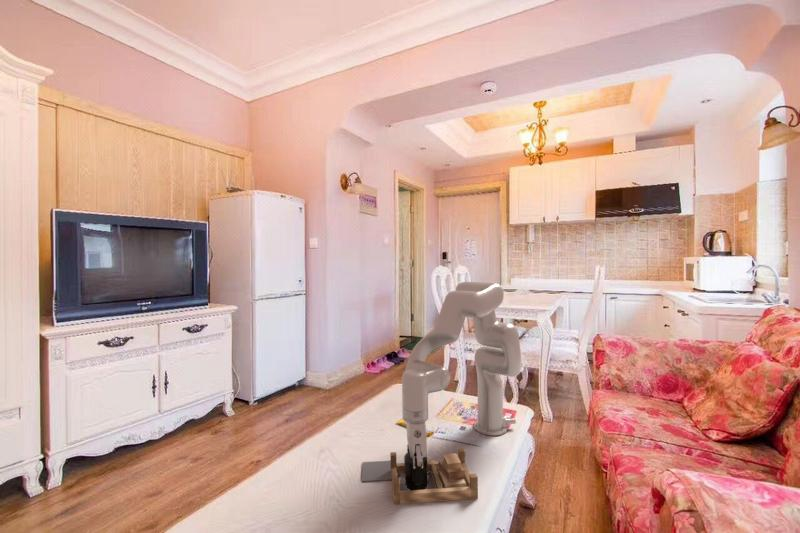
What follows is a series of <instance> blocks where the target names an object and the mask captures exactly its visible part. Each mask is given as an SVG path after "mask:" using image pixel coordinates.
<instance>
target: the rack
mask: <svg viewBox="0 0 800 533" xmlns="http://www.w3.org/2000/svg"><path fill="white" fill-rule="evenodd" d="M389 456H390V458H389V459H390V460H389V461H390V462H391V474H392V480H391V482H392V483H391V485H392V498H393V499H392V500H393V505H401V504H412V503H413V504H415V503H427V502H444V501H460V500H470V499H471V500H477V499H479V491H478V490H479V488H478V485H479V484H478V483H479V482H478V481H479V480H478V479H479V478H478V475H477V473H471V472H470V471H469V469H468V467H467V464H466V450H465V448H463V447H462V448H460V447H459V448H457V456H458V458H459V459H460V461H461V467H462V468H463V469H464V470H465V479H464V480H465V482H466V487H454V488H443V487H442V484H441V482H440V479H439V475H438V461H439V460H432V461H430V460H429V461H428V473H431V476H432V480H433V483H434V488H428V489H427V488H426V489H424V490H409V489H408V490H401V480H400V478H399V477H398V475H405V467H404V462H399V463H398V462H397V461H398V460H397V452H395V451H393V452H391V451H390V455H389Z"/></svg>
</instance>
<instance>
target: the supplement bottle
mask: <svg viewBox="0 0 800 533" xmlns="http://www.w3.org/2000/svg"><path fill="white" fill-rule="evenodd" d="M406 445H407V446H406V447H407V450H406V453H405V455H404V457H403V459H404V461H403V463H404V467H405V474H404V485H405V487H406V489H407V490H408V491H409V490H424V489H427V487H428V485H429V472H428V462H429V461H428V456H427V457H423V467H424V481H420V482H413V481H412V467H413V458H411V457H410V452H409V447H408V444H406ZM414 456H416V454H414ZM422 456H423V455H422ZM415 462H417V458H415Z"/></svg>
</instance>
